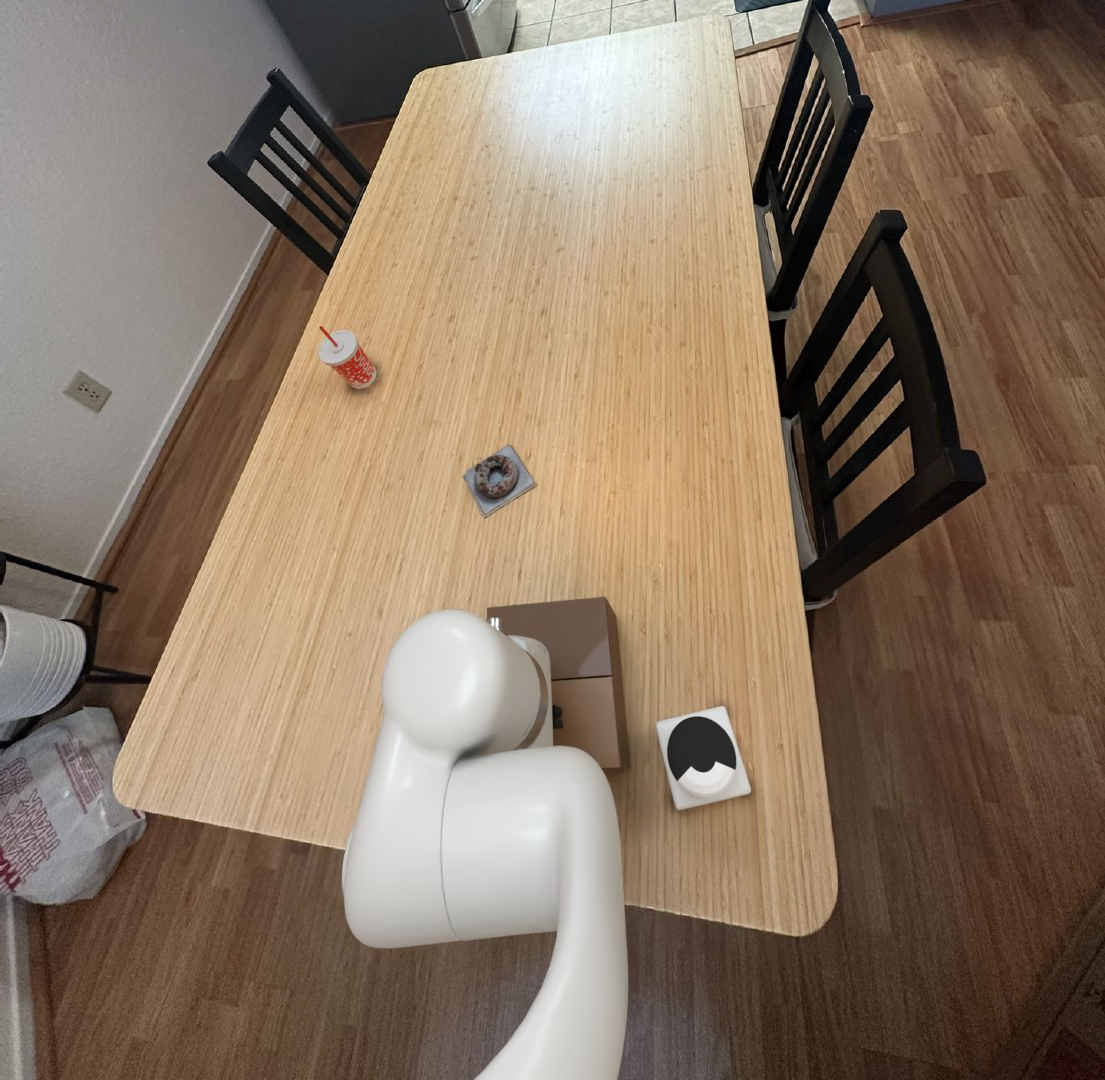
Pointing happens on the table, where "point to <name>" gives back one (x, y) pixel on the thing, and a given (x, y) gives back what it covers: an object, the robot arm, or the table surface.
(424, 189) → the table surface
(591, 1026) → the robot arm
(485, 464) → the donut
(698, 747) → the medicine bottle
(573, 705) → the front flap
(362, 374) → the beverage cup
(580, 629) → the carton
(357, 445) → the table surface
